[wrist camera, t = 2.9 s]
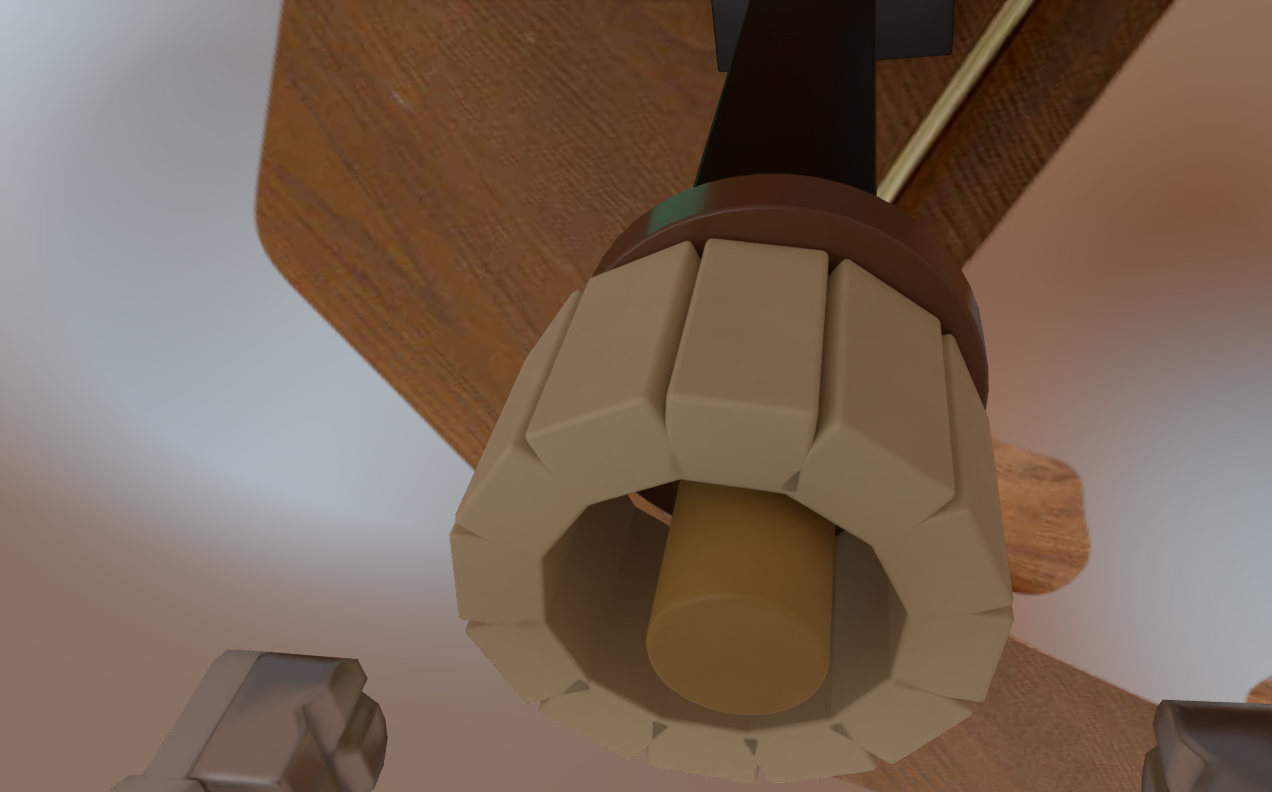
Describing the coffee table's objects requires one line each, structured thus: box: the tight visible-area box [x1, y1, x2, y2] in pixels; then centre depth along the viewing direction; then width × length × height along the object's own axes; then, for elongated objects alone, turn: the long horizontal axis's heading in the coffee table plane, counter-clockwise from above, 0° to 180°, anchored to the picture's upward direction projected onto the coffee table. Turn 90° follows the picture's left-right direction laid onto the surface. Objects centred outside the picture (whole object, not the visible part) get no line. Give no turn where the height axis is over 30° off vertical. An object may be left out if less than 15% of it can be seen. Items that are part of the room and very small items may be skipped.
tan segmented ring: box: [450, 238, 1014, 784], centre depth 14 cm, size 7×7×4 cm
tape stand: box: [592, 0, 989, 715], centre depth 23 cm, size 8×8×31 cm
